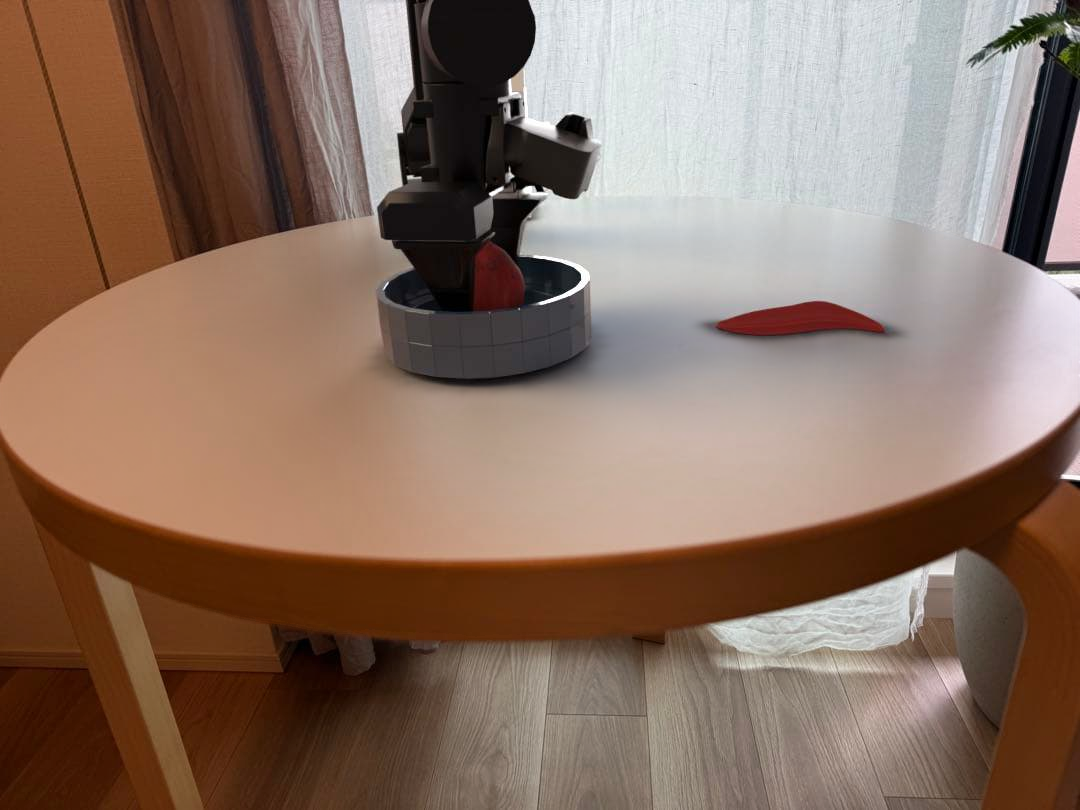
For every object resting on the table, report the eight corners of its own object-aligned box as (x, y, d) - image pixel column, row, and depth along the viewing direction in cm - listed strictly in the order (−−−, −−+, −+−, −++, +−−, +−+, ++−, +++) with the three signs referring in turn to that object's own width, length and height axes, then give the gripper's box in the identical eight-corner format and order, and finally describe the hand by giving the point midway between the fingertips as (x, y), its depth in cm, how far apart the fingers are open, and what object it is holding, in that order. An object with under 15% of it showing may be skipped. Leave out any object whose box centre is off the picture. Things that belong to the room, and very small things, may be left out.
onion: (540, 329, 62) (534, 223, 59) (505, 355, 57) (497, 242, 54) (473, 322, 64) (464, 220, 61) (434, 347, 60) (422, 237, 56)
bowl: (347, 380, 56) (336, 310, 54) (432, 311, 70) (426, 253, 68) (562, 393, 52) (559, 318, 50) (609, 317, 66) (608, 256, 64)
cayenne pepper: (885, 322, 61) (888, 297, 60) (885, 343, 57) (888, 317, 56) (721, 312, 65) (722, 289, 64) (711, 332, 61) (712, 307, 61)
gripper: (548, 85, 43) (561, 363, 50) (616, 67, 59) (619, 278, 66) (356, 93, 46) (392, 354, 53) (471, 74, 62) (487, 275, 69)
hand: (485, 310), depth 60 cm, fingers open, 9 cm apart
